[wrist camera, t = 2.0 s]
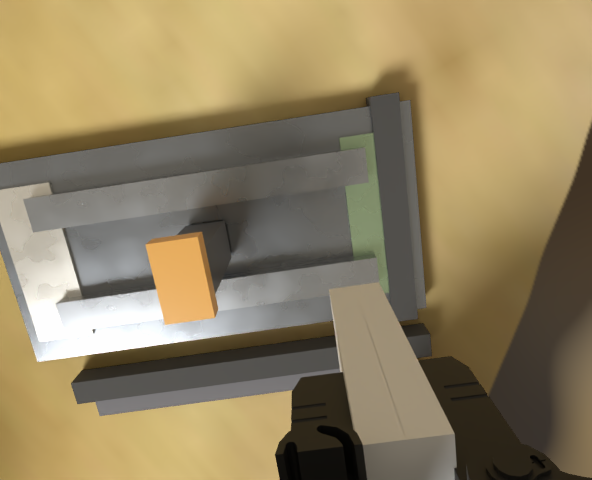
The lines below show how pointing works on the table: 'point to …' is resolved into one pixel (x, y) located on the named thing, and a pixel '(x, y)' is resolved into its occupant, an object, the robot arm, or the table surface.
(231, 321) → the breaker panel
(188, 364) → the long dark grey rail
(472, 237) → the table surface
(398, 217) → the grey panel edge rail
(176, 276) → the lever
